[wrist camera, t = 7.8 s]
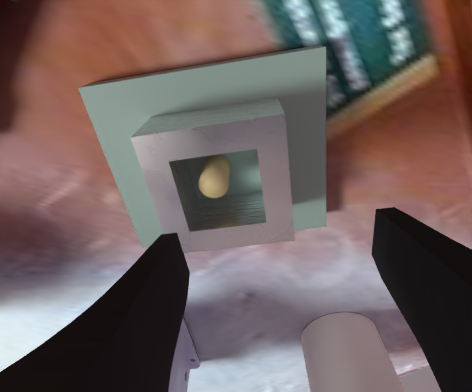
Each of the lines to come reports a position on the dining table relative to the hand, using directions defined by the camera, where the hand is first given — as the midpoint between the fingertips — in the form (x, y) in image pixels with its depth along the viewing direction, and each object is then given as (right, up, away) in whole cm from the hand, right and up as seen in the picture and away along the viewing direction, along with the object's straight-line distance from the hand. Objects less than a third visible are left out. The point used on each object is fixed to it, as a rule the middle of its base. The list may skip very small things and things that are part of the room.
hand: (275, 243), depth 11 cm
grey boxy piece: (-2, +4, +7) cm, 8 cm away
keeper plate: (-3, +4, +8) cm, 10 cm away
